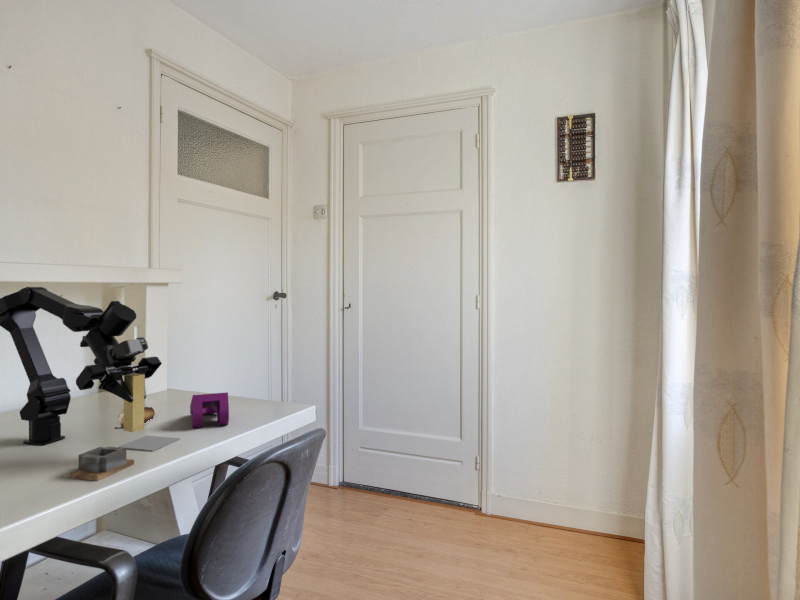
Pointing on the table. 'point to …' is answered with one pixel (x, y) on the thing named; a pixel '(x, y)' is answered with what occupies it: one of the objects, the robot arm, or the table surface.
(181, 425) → the table surface
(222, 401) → the mounting bracket
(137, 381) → the yellow rectangular block
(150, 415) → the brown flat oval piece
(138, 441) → the felt pad
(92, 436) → the table surface
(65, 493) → the table surface
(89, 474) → the grey block holder
